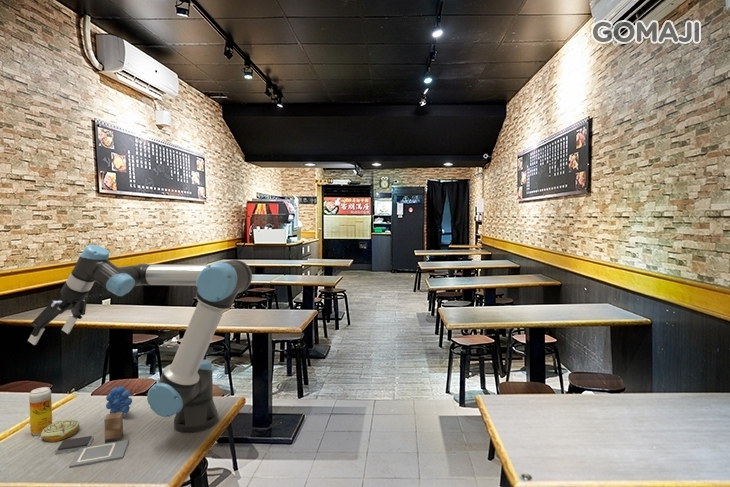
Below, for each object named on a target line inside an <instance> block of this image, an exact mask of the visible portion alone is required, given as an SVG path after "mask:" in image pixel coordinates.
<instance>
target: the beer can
mask: <svg viewBox="0 0 730 487" xmlns="http://www.w3.org/2000/svg"><path fill="white" fill-rule="evenodd" d="M28 398H29V424H30V434H32V435H33V436H41V433H42V431H43V429H44V428H46V427H47V426H48V425H50V424H52V423H53V411H52V410H53V408H52V406H53V404H52V403H53V402H52V390H51V389H50V387H47V386H44V387H43V386H42V387H38V388H35V389H32V390H31V391H30V392H29V395H28Z"/></svg>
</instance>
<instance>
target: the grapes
mask: <svg viewBox="0 0 730 487" xmlns="http://www.w3.org/2000/svg"><path fill="white" fill-rule="evenodd" d="M130 396H131V391H130V390H129V389H126V388H125V386H123V385H120V386H118V387H116V386H115V387H112V389H111V390H110V393H108V394H107V395H106V397H105V400H106V401H107V403H105V408H106V409H107V410H109V414H112V413H119V412H122V416H123V415H124V414H127V413H128V412H129V411H130V408H131V407H130V406H131V405H132V404H133V399H132V398H131V397H130Z"/></svg>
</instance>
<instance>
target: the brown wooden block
mask: <svg viewBox="0 0 730 487" xmlns="http://www.w3.org/2000/svg"><path fill="white" fill-rule="evenodd" d="M123 421H124V420H123V415H122V412H119V413H112V414H110V413H107V415H106V416H105V418H104V423H103V424H104V444H106V443H112V442H118V441H122V438H123V435H124V422H123Z"/></svg>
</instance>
